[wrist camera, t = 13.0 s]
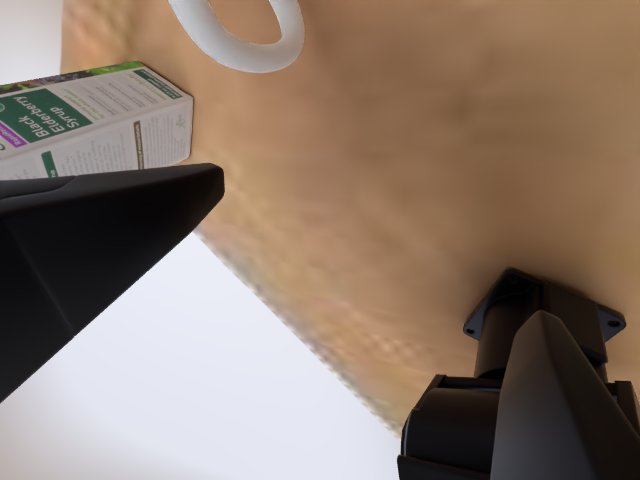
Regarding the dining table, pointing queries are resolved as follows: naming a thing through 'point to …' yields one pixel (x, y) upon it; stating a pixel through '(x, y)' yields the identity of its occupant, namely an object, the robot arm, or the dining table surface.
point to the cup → (236, 52)
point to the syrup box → (93, 123)
